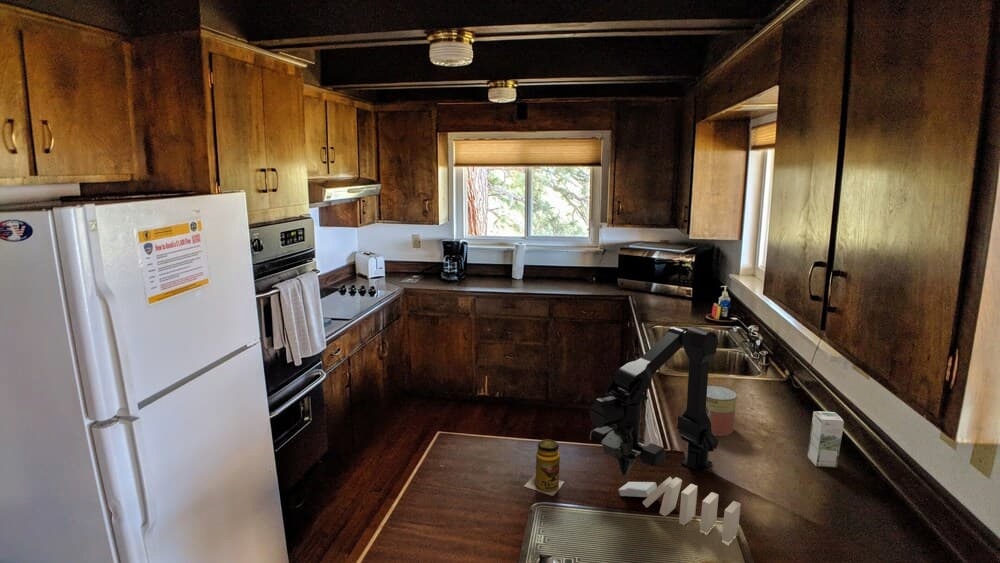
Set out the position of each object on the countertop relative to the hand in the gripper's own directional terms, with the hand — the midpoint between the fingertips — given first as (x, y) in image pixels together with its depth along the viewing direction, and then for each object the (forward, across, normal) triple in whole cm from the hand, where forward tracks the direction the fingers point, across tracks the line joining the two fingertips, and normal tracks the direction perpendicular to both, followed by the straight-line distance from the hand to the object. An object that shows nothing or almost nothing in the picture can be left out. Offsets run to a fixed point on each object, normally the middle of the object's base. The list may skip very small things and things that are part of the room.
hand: (625, 475), depth 142 cm
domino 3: (+4, +12, 0) cm, 13 cm away
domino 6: (+4, +27, 0) cm, 27 cm away
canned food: (+5, +1, +52) cm, 52 cm away
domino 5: (+4, +22, 0) cm, 22 cm away
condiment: (+5, -16, -12) cm, 21 cm away
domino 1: (+4, 0, 0) cm, 4 cm away
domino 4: (+4, +17, 0) cm, 18 cm away
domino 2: (+4, +7, 0) cm, 8 cm away
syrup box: (+5, +32, +52) cm, 61 cm away
